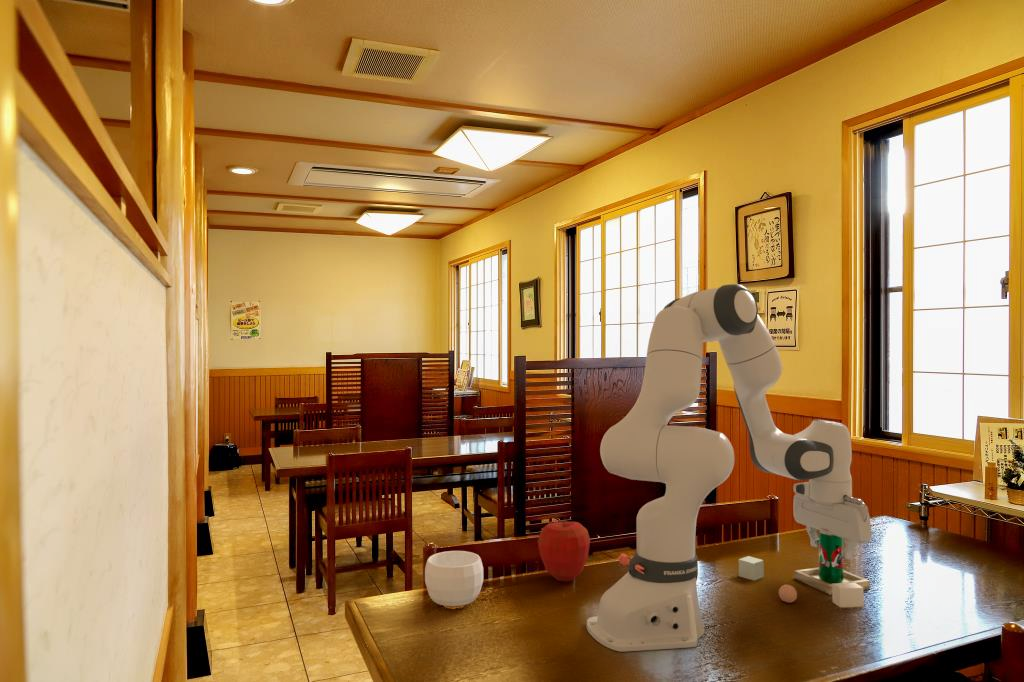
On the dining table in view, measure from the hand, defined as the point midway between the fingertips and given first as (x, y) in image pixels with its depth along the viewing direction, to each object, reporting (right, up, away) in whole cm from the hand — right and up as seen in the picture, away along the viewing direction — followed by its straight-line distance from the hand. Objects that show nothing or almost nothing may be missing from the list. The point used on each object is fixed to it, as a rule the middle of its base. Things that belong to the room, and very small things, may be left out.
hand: (830, 552), depth 156 cm
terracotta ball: (-14, -5, -11) cm, 19 cm away
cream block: (-2, -7, -12) cm, 14 cm away
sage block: (-16, -7, +5) cm, 19 cm away
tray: (0, -7, 0) cm, 7 cm away
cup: (-85, -8, -11) cm, 86 cm away
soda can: (0, -7, 0) cm, 7 cm away
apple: (-60, -8, +4) cm, 61 cm away
